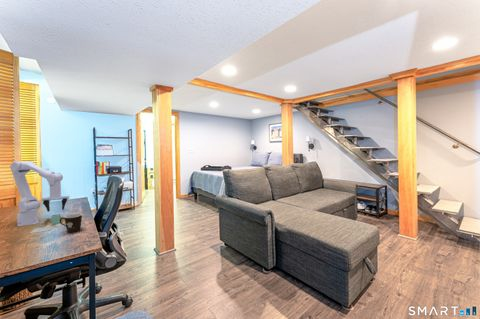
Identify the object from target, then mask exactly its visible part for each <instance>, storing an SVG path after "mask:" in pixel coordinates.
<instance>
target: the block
mask: <svg viewBox="0 0 480 319" xmlns="http://www.w3.org/2000/svg"><path fill="white" fill-rule="evenodd" d="M61 217H62V215H61V213H59V214H52V216H51V217H50V218H51V219H52V225H56V224H60V219H61Z"/></svg>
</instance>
